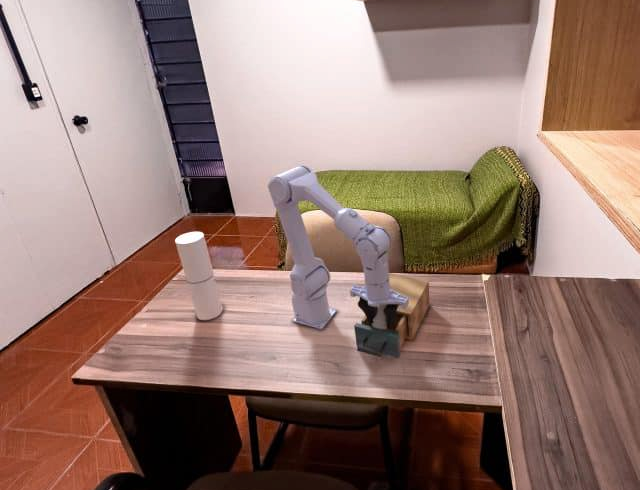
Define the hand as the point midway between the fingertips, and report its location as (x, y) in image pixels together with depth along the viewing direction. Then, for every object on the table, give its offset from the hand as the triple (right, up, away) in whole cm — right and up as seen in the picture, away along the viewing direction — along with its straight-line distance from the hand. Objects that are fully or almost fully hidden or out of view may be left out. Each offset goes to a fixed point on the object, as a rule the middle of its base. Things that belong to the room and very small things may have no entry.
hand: (381, 323), depth 96 cm
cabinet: (+5, -2, +12) cm, 14 cm away
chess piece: (0, -1, 0) cm, 1 cm away
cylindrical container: (-51, -3, +20) cm, 55 cm away
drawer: (+1, -5, +4) cm, 6 cm away
